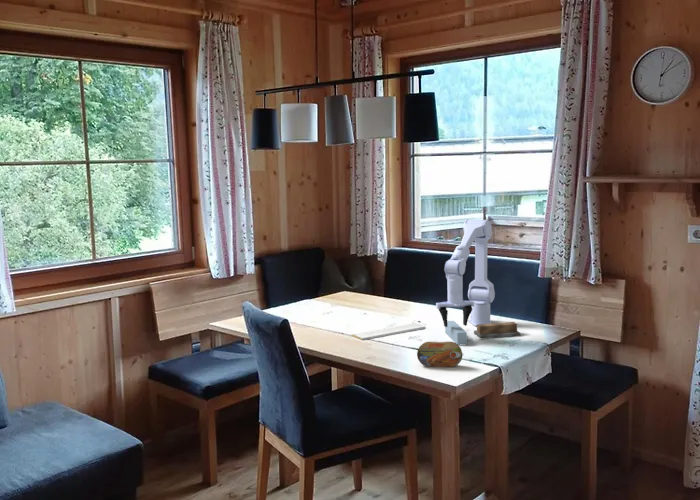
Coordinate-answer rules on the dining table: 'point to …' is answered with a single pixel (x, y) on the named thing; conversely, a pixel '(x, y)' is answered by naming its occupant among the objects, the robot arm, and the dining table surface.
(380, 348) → the dining table surface
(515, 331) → the stand
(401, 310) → the dining table surface
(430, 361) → the tin
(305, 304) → the dining table surface
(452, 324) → the beam
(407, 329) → the baseboard
